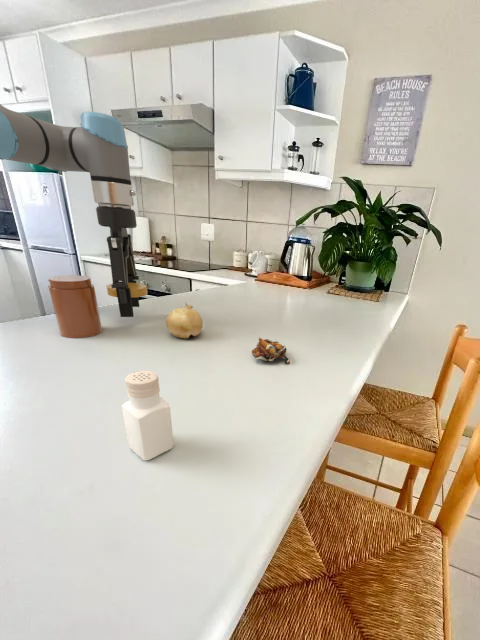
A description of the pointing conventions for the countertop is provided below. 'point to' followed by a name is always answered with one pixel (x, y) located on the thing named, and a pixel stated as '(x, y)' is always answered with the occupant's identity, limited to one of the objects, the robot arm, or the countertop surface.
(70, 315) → the jar
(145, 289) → the lid
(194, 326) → the onion
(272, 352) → the brown lumpy piece
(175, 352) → the countertop surface
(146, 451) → the salt shaker
